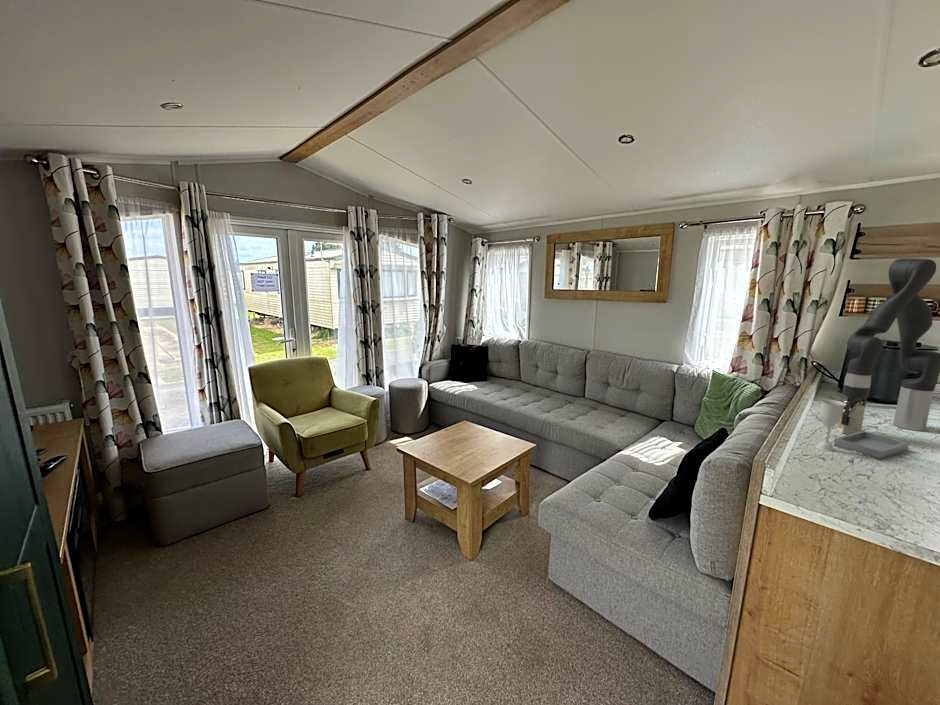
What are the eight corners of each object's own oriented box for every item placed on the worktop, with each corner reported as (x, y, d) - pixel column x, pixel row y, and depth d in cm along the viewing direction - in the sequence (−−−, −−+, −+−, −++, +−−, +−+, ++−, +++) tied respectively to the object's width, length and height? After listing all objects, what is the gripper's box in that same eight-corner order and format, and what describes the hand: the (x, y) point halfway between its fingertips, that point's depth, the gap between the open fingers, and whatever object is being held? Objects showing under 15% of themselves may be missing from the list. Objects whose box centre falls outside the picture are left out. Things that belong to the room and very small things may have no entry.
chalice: (842, 453, 140) (851, 406, 136) (820, 451, 141) (829, 404, 138) (828, 445, 147) (836, 399, 144) (808, 443, 148) (815, 398, 145)
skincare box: (854, 431, 160) (859, 403, 158) (860, 435, 156) (866, 406, 154) (835, 429, 162) (840, 401, 160) (841, 433, 158) (846, 405, 156)
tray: (861, 437, 154) (862, 430, 153) (907, 450, 142) (909, 442, 142) (833, 445, 146) (835, 438, 146) (880, 460, 134) (881, 452, 134)
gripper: (854, 380, 162) (847, 418, 165) (835, 384, 156) (828, 422, 159) (878, 385, 155) (870, 424, 158) (859, 388, 149) (852, 429, 152)
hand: (849, 423), depth 159 cm, fingers closed on skincare box, 7 cm apart
